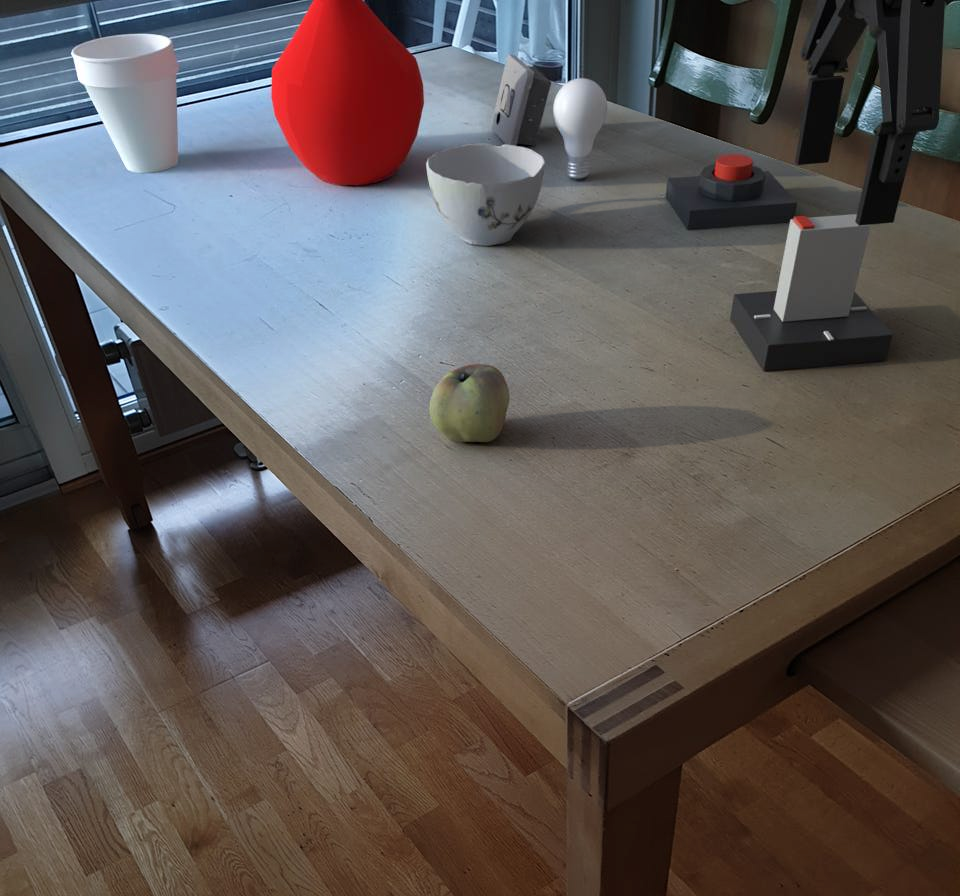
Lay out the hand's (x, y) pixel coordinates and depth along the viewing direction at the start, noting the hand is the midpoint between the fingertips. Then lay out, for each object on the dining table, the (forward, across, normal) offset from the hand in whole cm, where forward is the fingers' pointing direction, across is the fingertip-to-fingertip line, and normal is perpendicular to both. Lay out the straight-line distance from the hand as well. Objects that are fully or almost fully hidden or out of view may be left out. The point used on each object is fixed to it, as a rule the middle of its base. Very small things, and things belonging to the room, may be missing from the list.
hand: (840, 191), depth 79 cm
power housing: (+13, +31, -2) cm, 34 cm away
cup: (+12, +61, +68) cm, 92 cm away
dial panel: (+13, 0, 0) cm, 13 cm away
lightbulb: (+13, +44, +14) cm, 48 cm away
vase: (+12, +52, +40) cm, 67 cm away
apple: (+13, -11, +32) cm, 36 cm away
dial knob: (+10, 0, 0) cm, 10 cm away
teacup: (+13, +30, +26) cm, 42 cm away
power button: (+9, +31, -2) cm, 32 cm away
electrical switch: (+13, +61, +18) cm, 65 cm away
